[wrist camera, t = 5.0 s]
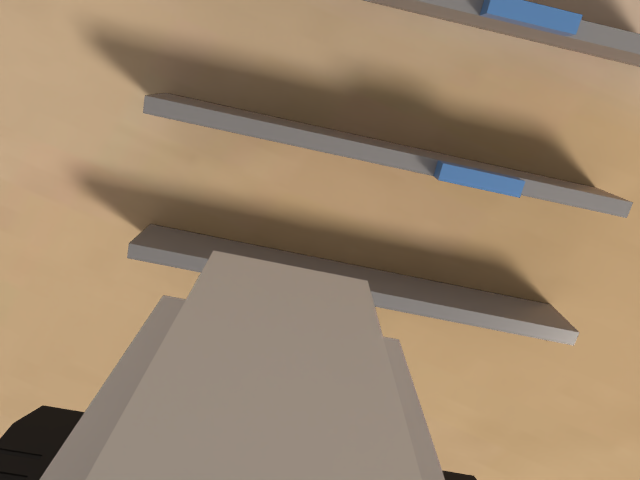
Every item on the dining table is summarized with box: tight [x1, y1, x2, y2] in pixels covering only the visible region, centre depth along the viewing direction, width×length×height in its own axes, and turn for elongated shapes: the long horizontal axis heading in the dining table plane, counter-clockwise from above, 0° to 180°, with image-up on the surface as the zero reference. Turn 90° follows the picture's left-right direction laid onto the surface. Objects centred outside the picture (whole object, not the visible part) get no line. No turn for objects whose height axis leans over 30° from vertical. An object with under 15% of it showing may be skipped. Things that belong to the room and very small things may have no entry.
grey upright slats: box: [127, 0, 640, 345], centre depth 26 cm, size 24×15×4 cm, turn 78°
